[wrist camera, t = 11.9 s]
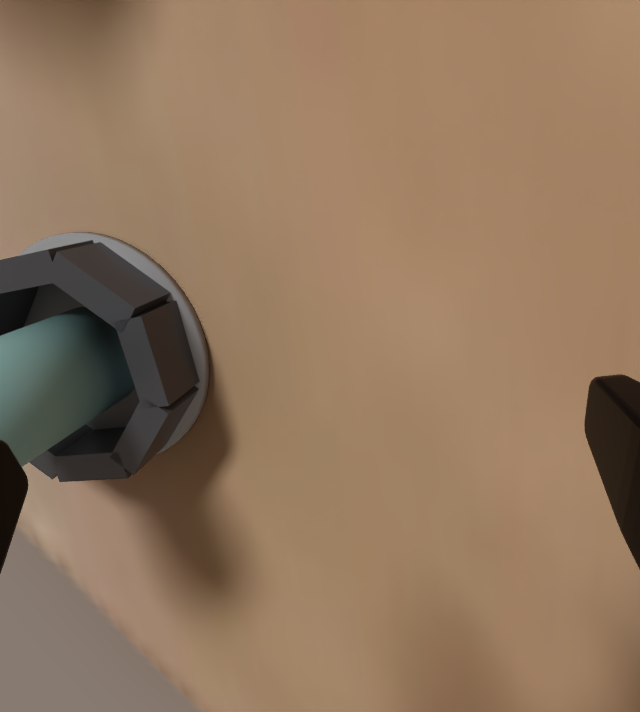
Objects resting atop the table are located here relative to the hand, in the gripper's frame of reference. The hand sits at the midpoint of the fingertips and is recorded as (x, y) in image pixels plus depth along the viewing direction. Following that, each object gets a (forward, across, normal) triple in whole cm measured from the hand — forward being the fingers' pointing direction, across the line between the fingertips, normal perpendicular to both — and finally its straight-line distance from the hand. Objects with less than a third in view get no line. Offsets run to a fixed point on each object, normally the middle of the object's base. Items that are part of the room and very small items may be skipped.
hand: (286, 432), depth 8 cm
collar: (+14, +11, +6) cm, 18 cm away
